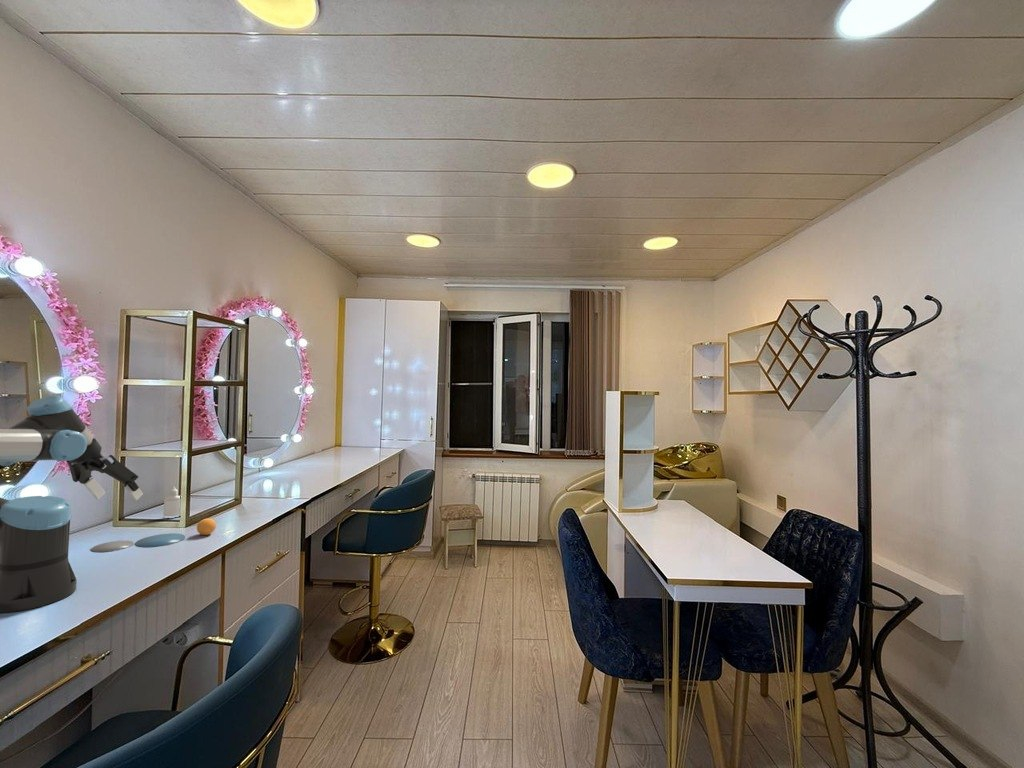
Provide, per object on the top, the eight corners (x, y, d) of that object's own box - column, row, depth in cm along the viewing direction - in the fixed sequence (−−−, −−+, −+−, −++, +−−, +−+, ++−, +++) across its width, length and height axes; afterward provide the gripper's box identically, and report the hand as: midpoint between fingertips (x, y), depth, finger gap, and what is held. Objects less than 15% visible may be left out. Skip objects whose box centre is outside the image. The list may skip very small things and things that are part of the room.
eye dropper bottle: (177, 518, 172) (179, 487, 172) (161, 519, 171) (162, 487, 171) (183, 515, 176) (185, 485, 177) (167, 516, 175) (168, 485, 175)
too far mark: (108, 553, 136) (108, 552, 136) (82, 550, 138) (82, 549, 138) (141, 542, 146) (141, 542, 146) (116, 539, 148) (116, 539, 148)
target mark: (158, 548, 141) (158, 548, 141) (124, 544, 144) (124, 544, 144) (194, 536, 154) (194, 535, 154) (162, 532, 156) (162, 531, 156)
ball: (206, 537, 153) (206, 521, 153) (192, 536, 154) (193, 520, 154) (219, 532, 158) (220, 517, 158) (206, 531, 159) (206, 515, 159)
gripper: (127, 436, 129) (164, 488, 141) (54, 435, 133) (96, 486, 144) (104, 454, 123) (145, 507, 135) (28, 453, 126) (74, 504, 138)
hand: (120, 496), depth 139 cm, fingers open, 13 cm apart
